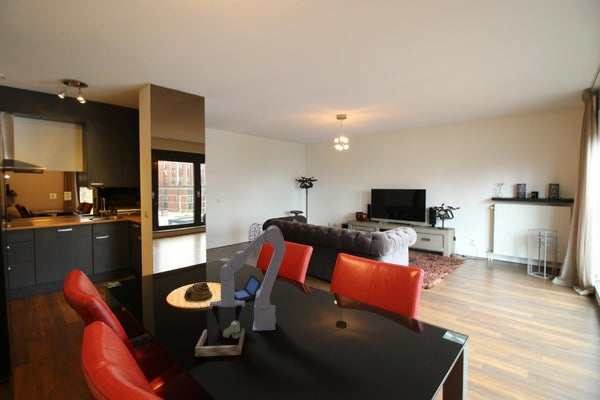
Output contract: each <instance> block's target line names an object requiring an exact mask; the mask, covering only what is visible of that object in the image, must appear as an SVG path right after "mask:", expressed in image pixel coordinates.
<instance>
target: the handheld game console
mask: <svg viewBox="0 0 600 400" xmlns="http://www.w3.org/2000/svg"><path fill="white" fill-rule="evenodd" d="M248 278H249V279H248V280H247V282H246V284H245V286H244V287H243V288H240V289H234V300H239V301H245V302H248V301H255V297H256V292H257V290H258V289H259V288H260V287H261V284H262V282H261V281H260V280H259V279H258V278H256V276H255V275H253V274H251V275H250V277H248Z"/></svg>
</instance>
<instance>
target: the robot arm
mask: <svg viewBox="0 0 600 400" xmlns="http://www.w3.org/2000/svg"><path fill="white" fill-rule="evenodd" d="M268 243H269V244H270V245H271V247H272V248H273V250H274V251H273V253H272V255H271V258H270V261H269V264H268V267H267V270H266V272H265V275H264V278H263V281H262V282H261V285H260V287H259V289H258V290H257V292H256V295H255V298H254V305H253V310H254V311H253V315H254V316H253V319H254V320H253V325H252V331H254V332H255V331H257V332H258V331H259V332H260V331H275V330H276V324H277V318H276V305H275V304H274V305H272V303H271V301H270V300H271V299H270V298H271V294H272V291H273V286H274V284H275V281H276V279H277V276H278V272H279V270H280V268H281V265H282V263H283V259H284V256H285V254H286V251H287V247H286V242H285V239H284V235H283V232H282V231H281V229H280V227H278V226H277V225H273V224H272V225H270V226H268V227H267V228H266V229H264V230H263V231H261V232H260V234H257V236H256V237H255V238H254V239H253V241H251V242H250V243H249V245H247V246H246V248H244V250H241V251H239V250H238V251H237V252H236V251H235V252H234V253H233V256H232V257H231V258H230V259H229V260H227V261H226V262H225V264H223V266H222V267H221V268H220V270H219V277H220V300H216V301H215V300H214V301H210V303H209V309H211V313H212V314H213V315H214V317H215V320H216V324H217V325H220V323H221V316H220V312H221V311H220V309H221V308H229V307H230V308H232V307H233V308H235V310H234V311H235V320H236V321H239V316H240V313H241V311H242V309H243V308H245V305H246V303H245V302H246V301H239V300H235V299H234V290H235V273H236V272H238V271H239V270H240V269H241V268H242V267H243V266H244V265H245V264H247V262H248V260H249V256H250V255H251V254H253V252H255V251H256V250H257V249H258V248H259V247H260V246H261V245H268Z"/></svg>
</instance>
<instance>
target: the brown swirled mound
mask: <svg viewBox="0 0 600 400" xmlns="http://www.w3.org/2000/svg"><path fill="white" fill-rule="evenodd" d="M183 296H184V300H186V301H195V302H201V301H206V300H209V299H210V298H212V297H213V292H212V291H211V289H210V287H209V285H208V282H205V281H200V282H196V283H194V284H192V285H191V286H189V287H187V289H186V290H185V292H184V295H183Z"/></svg>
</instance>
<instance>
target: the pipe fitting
mask: <svg viewBox="0 0 600 400" xmlns="http://www.w3.org/2000/svg"><path fill="white" fill-rule="evenodd" d="M240 335H241V327H240V321H239V320H238V321H236V319H234V320H233V321H232V322H231V323H230V326H228V327H227V328H225V329H224V330H223V332H222V336H223V337H224V338H226V339H228V338H230V337H231V338H233V339H236V340H237V339H238V338H240Z"/></svg>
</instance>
